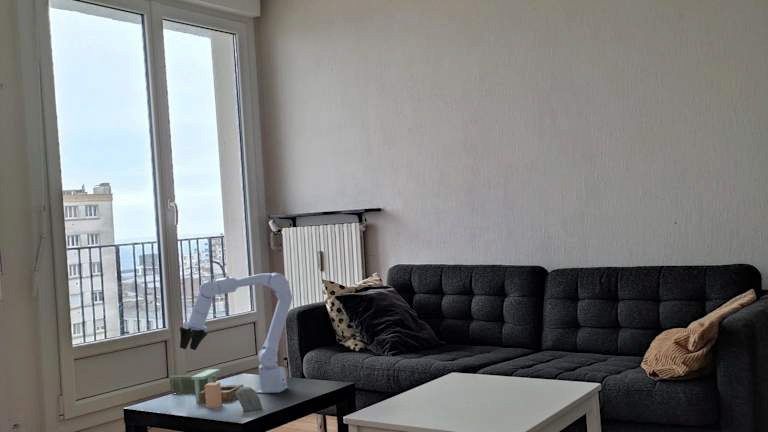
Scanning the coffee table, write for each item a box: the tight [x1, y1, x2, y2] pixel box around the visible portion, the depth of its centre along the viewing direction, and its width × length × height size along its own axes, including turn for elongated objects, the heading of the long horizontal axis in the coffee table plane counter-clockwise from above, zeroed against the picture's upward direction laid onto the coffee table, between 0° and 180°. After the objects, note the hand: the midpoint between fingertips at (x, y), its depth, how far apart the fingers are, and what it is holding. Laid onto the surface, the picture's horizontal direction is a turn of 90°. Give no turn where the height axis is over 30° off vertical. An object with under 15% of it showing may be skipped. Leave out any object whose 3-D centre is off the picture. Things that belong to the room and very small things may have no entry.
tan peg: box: [205, 381, 223, 409], centre depth 279 cm, size 4×4×8 cm
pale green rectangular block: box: [191, 368, 221, 404], centre depth 293 cm, size 5×13×10 cm, turn 165°
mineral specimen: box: [235, 386, 263, 412], centre depth 270 cm, size 7×9×8 cm
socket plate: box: [198, 384, 244, 404], centre depth 292 cm, size 12×12×4 cm
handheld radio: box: [169, 374, 218, 394], centre depth 307 cm, size 7×3×25 cm
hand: (187, 348), depth 289 cm, fingers open, 7 cm apart
